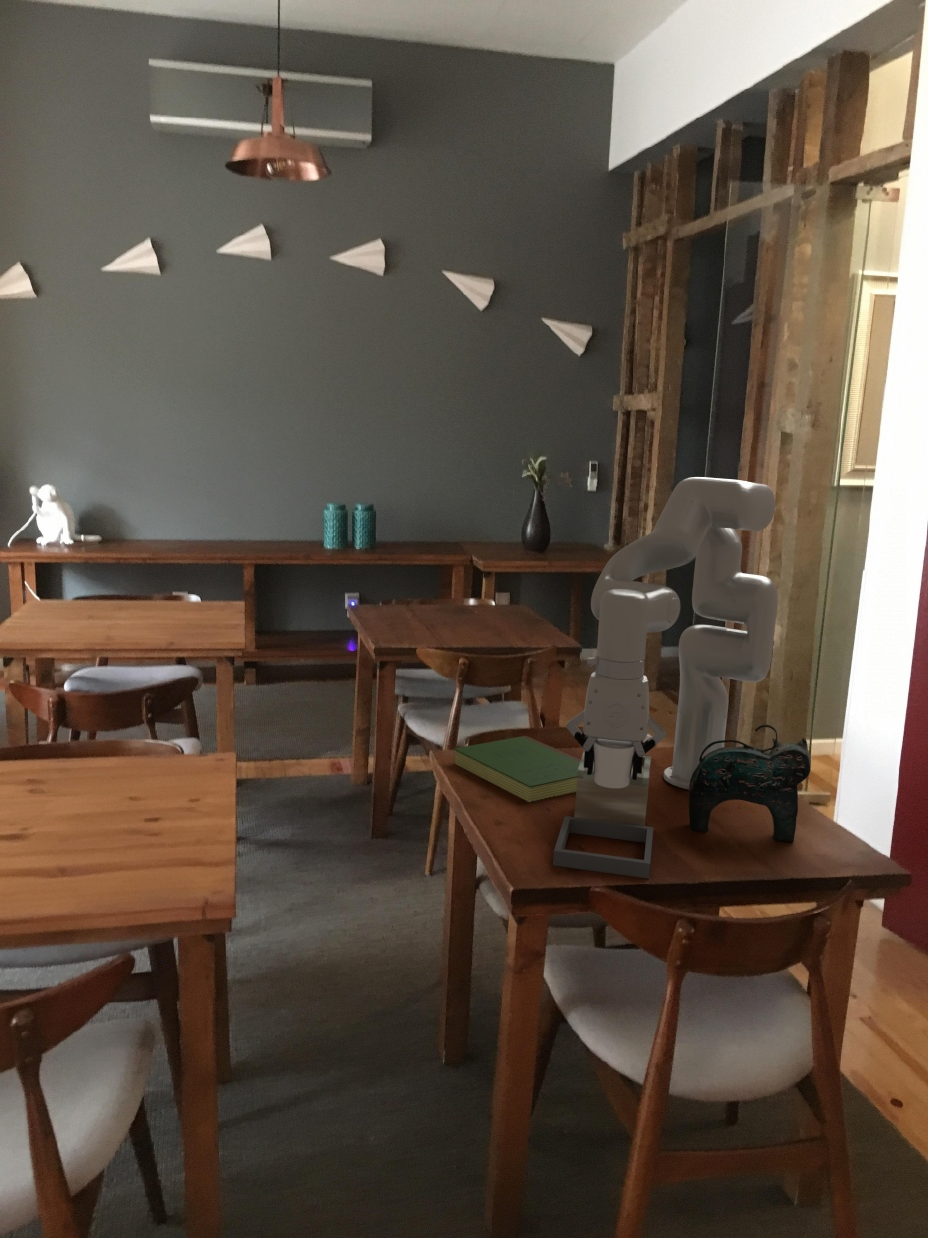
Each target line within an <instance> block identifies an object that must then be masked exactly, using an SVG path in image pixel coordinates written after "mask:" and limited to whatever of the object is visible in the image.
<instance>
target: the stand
mask: <svg viewBox="0 0 928 1238" xmlns="http://www.w3.org/2000/svg"><path fill="white" fill-rule="evenodd" d="M584 754H585V750H584V749H583V752H582V756H581V758H580V759H581V762H580V765H579V768H578V775H577V788H576V792H575V800H574V801H575V803H574V815H573V817H576V818H584V819H592V820H600V821H608V822H615V823H623V824H631V825H639V826H646V825H645V824H646V815H647V806H648V805H647V803H648V793H649V784H650V772H651V761H652V756H649V755H644V756H643V762H642V774H638V773H637V780H633V779H632V773H633V765H632V771H631V777H630V783H629V785H628V786H626V787H624V788H607V787H603V786H600V785H598V784H597V783H595V780H594V764H593V771H592V774H591V775H587V769H588V768H584Z"/></svg>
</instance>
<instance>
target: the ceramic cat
mask: <svg viewBox="0 0 928 1238" xmlns="http://www.w3.org/2000/svg"><path fill="white" fill-rule="evenodd" d="M763 728H769V729H771V730H773V732H774V733H775V738H774V737H773V738H772V743H773V744H772V745H773V746H772V747H770V748H766V749H762V748H758V747H755V746H751V745H749V744H747V743H744V742H743V741H739V740H736V739H724V740H719V741H715V742H712V743H710V744H709V745H707V746H706V747H705V749H704V750H703V752H702V753H701V755H700V758H699V761H700V763H699V764H698V766H697V767H696V769H695V770H694V772H693V774H692V776H691V779H690V784H689V790H688V812H689V813H688V814H689V815H688V816H689V818H688V819H689V830H691V831H696V832H702V833H707V832H708V831H709V824H710V816H711V812H712V811H713V810H714V809H715V808H716V807H717V806H719V805H720V804H722V803H724V802H727V801H735V800H737V801H745V802H748V803H752V804H757V805H760V806H766V808H767V809H768V810H769V812H770V815H771V818H772V824H773V835H772V837H773V839H774V842H775V841H776V842H786V843H787V842H788V843H794V842H795V841H794V840H795V836H796V835H795V833H796V829H797V818H798V814H799V794H798V786H799V784H800V783H802V782H803V781H805V780H806V779H808V777H809V775H810V774H811V773H810V772H811V767H812V758H811V757H812V755H811V752H810V750H809V749H808V747H809V746H808V742H807V739H806V738H805V737H803V738H801V739H800V740H799V741H798V742H797V743H794V742H789V743H788V742H785V743H782V742H781V741H779V739H778V732H777V730H776V728H775V727H774V726H772V725H771V724H760V725H758V726H757V727H756V728H755V729H754V731H755V732H757V731H759V730H760V729H763ZM717 743H724V744H725V743H736V744H739V745H741V746H724V747H721V748H718V749H716V750H714V751H712V752H710V753H708V754H707V755H705V756H704V757H703V758H702V756H703V754H704V752H705V751H706V750H707V749H708V748H710V747H711V746H712V745H714V744H717Z"/></svg>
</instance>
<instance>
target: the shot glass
mask: <svg viewBox="0 0 928 1238" xmlns="http://www.w3.org/2000/svg"><path fill="white" fill-rule="evenodd" d="M593 749H594V780H595V783H597V784H598V785H600V786H603V787H607V788H624V787H626V786H628V785H629V783H630V777H631V771H632V765H633V759H634V754H635V752H636V750H635V747H634V745H633V742H627V741H617V740H607V739H598V738H596V740H595V742H594V743H593Z"/></svg>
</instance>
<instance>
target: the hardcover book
mask: <svg viewBox="0 0 928 1238" xmlns="http://www.w3.org/2000/svg"><path fill="white" fill-rule="evenodd" d="M453 751H455V754H454V755H455V756H454V758H455V759H454V765H456V766H458V767H460V768H461V769H465V771H468V772H469V773H472V774H474V775H476V776H477V777H479V778H481V779H484V780H485V781H487V782H489V783H491V784H493V785H494V786H496V787H499V788H500V789H503V790H505V791H506V792H508V793H510V794H512V795H514V796H515V797H518V798H520V799H522V800H524V801H526V802H527V803H532V801H533V802H538V801H541V799H542V800H545V798H547V799H550V798H549V797H551V798H554V797H553V796H555V797H559V796H560V797H561V796H563V795H568V794H572V793H576V788H577V775H578V768H579V765H580V762H581V759H582V758H577V757H576V756H573V755H571V754H569V753H566V752H565V751H562V750H559V749H557V748H555V747H553V746H552V745H551V746H550V745H548V744H546V743H544V742H542V741H539V740H537V739H534V738H532V737H530V736H529V735H528V736H527V735H522V736H517V737H510V738H505V739H500V740H494V741H489V742H484V743H479V744H478V743H477V744H473V745H472V744H471V745H467V746H460V747H455V748H453ZM537 800H538V801H537Z"/></svg>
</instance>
